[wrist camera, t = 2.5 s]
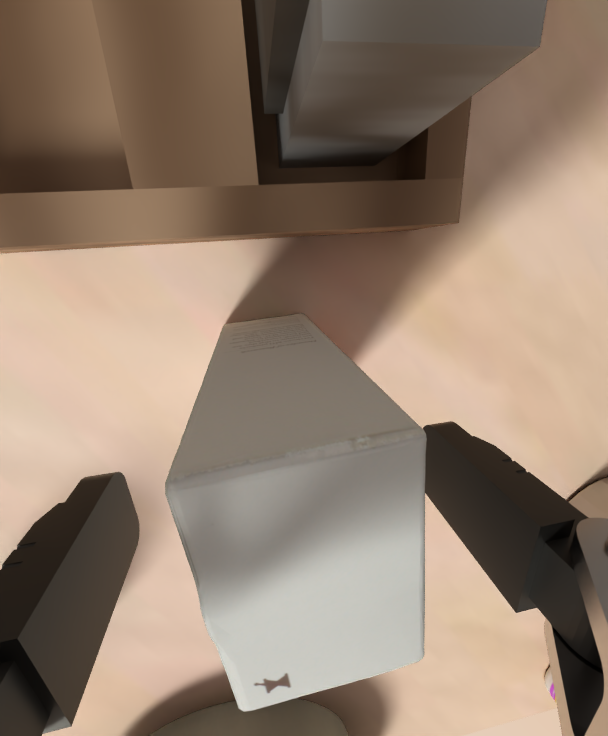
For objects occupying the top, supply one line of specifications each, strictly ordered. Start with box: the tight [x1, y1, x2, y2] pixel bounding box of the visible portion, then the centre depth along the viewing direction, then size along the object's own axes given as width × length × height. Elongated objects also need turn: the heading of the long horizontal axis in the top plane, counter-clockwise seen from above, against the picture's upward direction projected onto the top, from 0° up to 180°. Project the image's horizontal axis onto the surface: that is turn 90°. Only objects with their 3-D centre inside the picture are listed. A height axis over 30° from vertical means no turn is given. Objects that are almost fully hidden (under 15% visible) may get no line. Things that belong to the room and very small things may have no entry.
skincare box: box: [165, 313, 427, 712], centre depth 11 cm, size 6×4×12 cm
